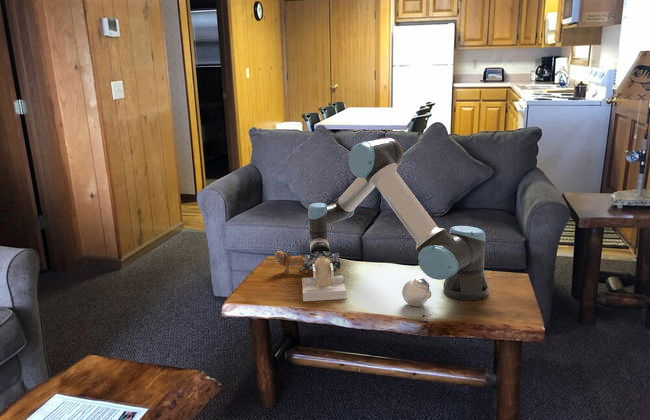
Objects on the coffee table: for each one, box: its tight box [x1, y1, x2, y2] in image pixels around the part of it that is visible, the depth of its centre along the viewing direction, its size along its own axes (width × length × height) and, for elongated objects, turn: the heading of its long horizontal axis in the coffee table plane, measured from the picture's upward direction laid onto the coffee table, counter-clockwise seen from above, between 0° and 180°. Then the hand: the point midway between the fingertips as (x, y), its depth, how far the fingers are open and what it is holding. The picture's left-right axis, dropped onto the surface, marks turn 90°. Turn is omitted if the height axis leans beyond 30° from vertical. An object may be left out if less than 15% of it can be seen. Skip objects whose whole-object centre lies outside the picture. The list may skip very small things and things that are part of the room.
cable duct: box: [301, 275, 348, 302], centre depth 191 cm, size 15×13×3 cm
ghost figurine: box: [401, 276, 432, 307], centre depth 177 cm, size 9×10×10 cm
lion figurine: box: [274, 250, 310, 275], centre depth 209 cm, size 15×5×9 cm, turn 91°
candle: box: [315, 256, 331, 287], centre depth 189 cm, size 6×6×10 cm
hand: (323, 274), depth 184 cm, fingers closed on candle, 5 cm apart
